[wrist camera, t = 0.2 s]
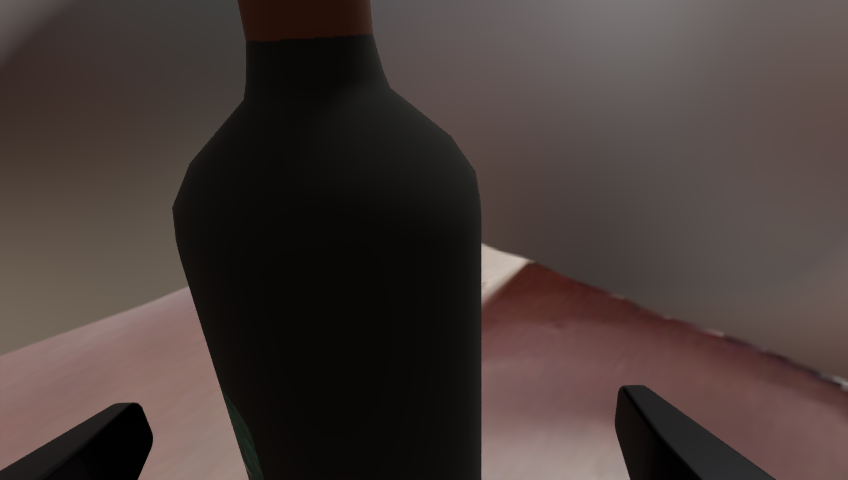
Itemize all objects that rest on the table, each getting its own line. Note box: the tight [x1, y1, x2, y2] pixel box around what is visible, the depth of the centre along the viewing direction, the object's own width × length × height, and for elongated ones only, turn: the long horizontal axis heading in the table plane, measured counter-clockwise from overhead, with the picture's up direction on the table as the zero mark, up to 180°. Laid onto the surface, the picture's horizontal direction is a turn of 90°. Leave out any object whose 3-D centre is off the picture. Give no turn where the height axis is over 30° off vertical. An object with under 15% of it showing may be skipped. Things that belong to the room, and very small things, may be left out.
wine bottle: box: [172, 0, 481, 480], centre depth 14 cm, size 8×8×30 cm
